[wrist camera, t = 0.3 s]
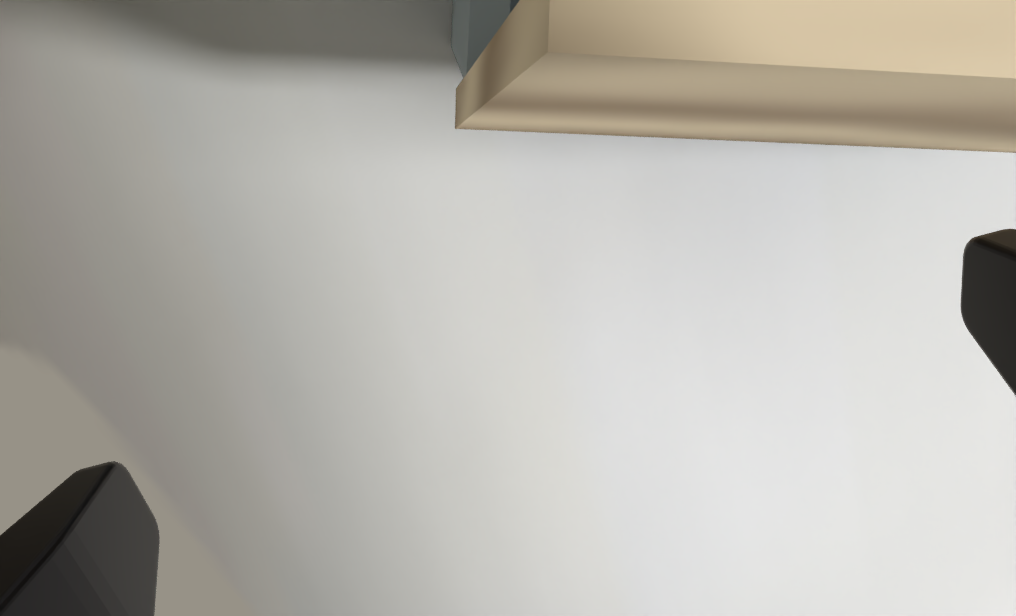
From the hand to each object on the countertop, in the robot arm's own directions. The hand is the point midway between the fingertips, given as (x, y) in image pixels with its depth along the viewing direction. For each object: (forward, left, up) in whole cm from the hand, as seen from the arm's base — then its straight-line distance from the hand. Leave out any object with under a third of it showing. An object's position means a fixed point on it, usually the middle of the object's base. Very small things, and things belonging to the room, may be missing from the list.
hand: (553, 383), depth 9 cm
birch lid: (0, -8, -5) cm, 10 cm away
